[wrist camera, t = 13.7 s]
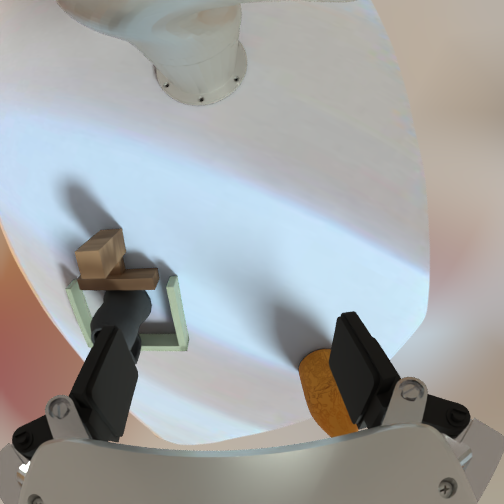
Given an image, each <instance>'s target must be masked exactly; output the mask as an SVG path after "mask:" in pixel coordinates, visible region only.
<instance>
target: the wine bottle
mask: <svg viewBox="0 0 504 504" xmlns="http://www.w3.org/2000/svg"><path fill="white" fill-rule="evenodd" d="M330 352H331V349H321V350H317V351H314V352H312V353H310V354H309V355H307V356H306V357H305V358H304V359H303V360H302V362H301V363H300V365H299V376H300V380H301V384H302V388H303V391H304V395H305V399H306V402H307V405H308V408H309V411H310V413H311V415H312V417H313V418H314V420H315V421H316V422H317V424H318V425H319V426H320V427H321V428H322V429H323V430H324V431H325V432H326V433H327V434H328V435H329V436H330V437H331V438H332V437H337V436H341V435H346V434H350V433H354V432H358V427H357V425H356V424H353V423H352V421H351V419H350V416H349V414H348V411H347V409H346V406H345V404H344V401H343V399H342V397H341V394H340V392H339V389H338V387H337V384H336V382H335V379H334V377H333V375H332V372H331V370H330V367H329V357H330Z"/></svg>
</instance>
